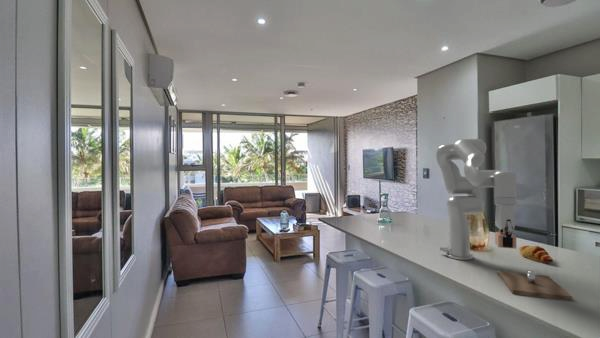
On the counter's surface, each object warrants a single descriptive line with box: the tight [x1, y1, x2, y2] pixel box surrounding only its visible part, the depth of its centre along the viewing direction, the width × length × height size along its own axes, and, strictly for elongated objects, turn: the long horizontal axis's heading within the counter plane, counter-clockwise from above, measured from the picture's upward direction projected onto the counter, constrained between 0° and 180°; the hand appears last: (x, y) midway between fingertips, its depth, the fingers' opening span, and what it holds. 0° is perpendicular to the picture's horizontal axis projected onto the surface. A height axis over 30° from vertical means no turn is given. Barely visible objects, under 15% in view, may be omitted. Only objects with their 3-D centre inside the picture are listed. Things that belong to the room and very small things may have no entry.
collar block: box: [494, 231, 517, 250], centre depth 121 cm, size 6×6×5 cm
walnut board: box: [497, 270, 574, 301], centre depth 118 cm, size 18×20×2 cm
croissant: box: [518, 245, 554, 264], centre depth 151 cm, size 21×10×8 cm, turn 179°
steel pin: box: [527, 270, 536, 284], centre depth 118 cm, size 2×2×5 cm
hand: (505, 244), depth 121 cm, fingers closed on collar block, 6 cm apart
